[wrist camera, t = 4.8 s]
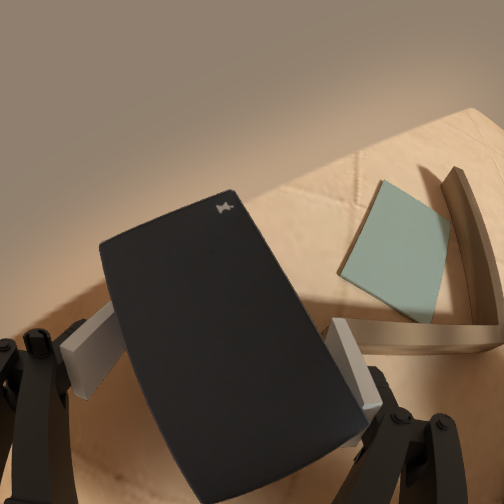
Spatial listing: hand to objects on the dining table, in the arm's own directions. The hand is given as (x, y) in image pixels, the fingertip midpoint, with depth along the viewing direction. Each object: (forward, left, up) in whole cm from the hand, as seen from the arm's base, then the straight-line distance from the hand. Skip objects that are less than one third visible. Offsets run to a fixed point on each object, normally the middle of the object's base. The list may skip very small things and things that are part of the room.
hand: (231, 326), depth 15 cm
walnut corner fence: (-15, -10, -4) cm, 18 cm away
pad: (-14, -10, -4) cm, 18 cm away
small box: (0, +2, -4) cm, 5 cm away
